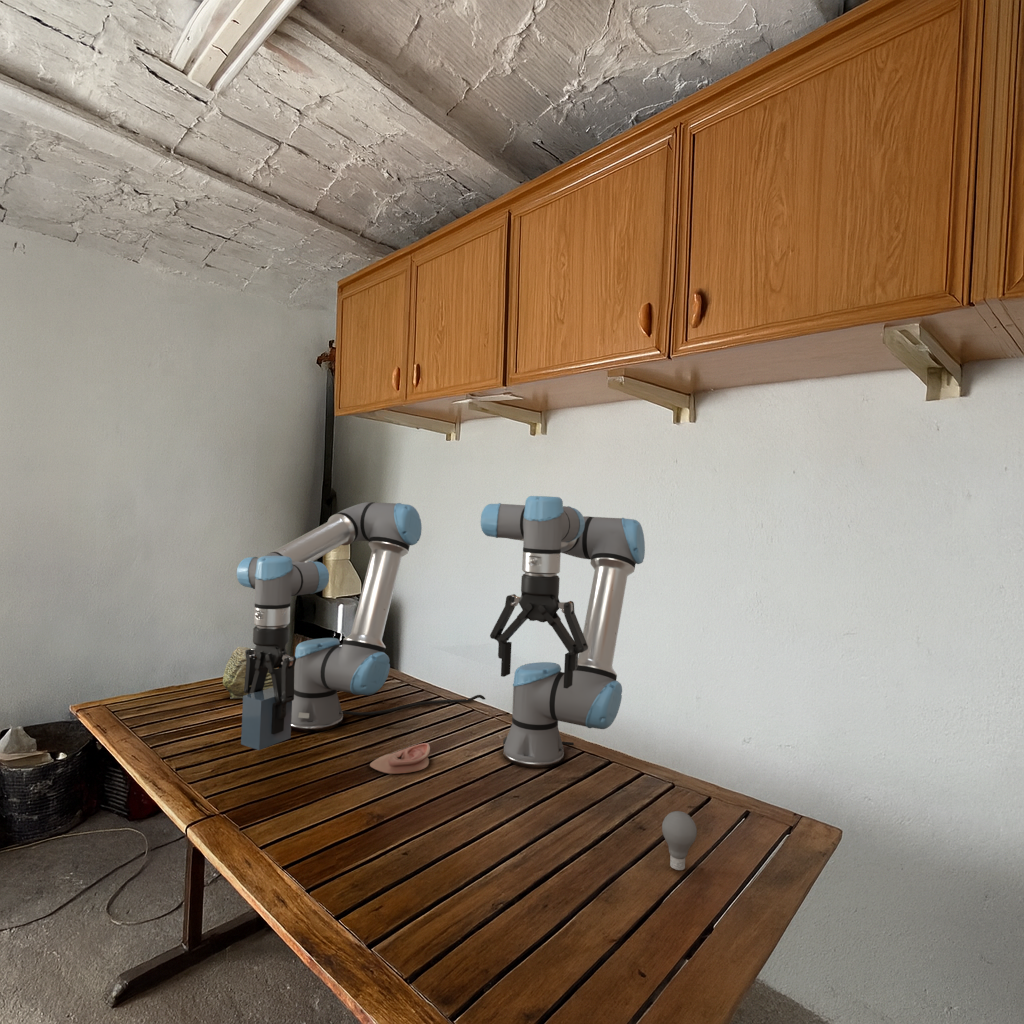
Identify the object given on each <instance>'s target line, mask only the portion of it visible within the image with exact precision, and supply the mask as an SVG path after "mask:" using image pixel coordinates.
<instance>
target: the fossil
mask: <svg viewBox="0 0 1024 1024" xmlns="http://www.w3.org/2000/svg"><path fill="white" fill-rule="evenodd" d="M248 649H251V647H247V646H246V647H245V646H238V647H237V648H236V649H235V650H233V651H232V653H231V656H230V657H229V659H228V660H227V663H226V666H225V668H224V671H223V675H222V676H223V677H222V685H223V687H224V688H225V690H226V691H228V693H229V698H230V699H243V696H244V695H248V693H245V692H244V684H245V672H246V654H245V651H246V650H248ZM274 669H277V668H274ZM250 687H251V685H250ZM272 687H273V683H272V677H271V674H270V673H269V670H268V672H267V676H266V679H265V683H264V687H263V690H265V689H269V688H272Z"/></svg>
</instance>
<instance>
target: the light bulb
mask: <svg viewBox="0 0 1024 1024" xmlns="http://www.w3.org/2000/svg"><path fill="white" fill-rule="evenodd" d="M661 831H662V836H663V837H664V839H665V842H666V844H667V847H668V852H669V855H670V858H669V859H670V860H669V866H670V867H671V868H672V869H674V870H676V871H683V870H685V869H686V858H687V856H688V854H689V850H690V848H691V847H692V846H693V844H694V842H695V841H696V838H697V835H698V830H697V824H696V823H695V821H694V820H693V818H692V817H691V816H690V815H689V814H688V813H687V812H684V811H680V810H674V811H671V812H669V813H668V814H667V815H666V816H665V817H664V818H663V821H662V824H661Z"/></svg>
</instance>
